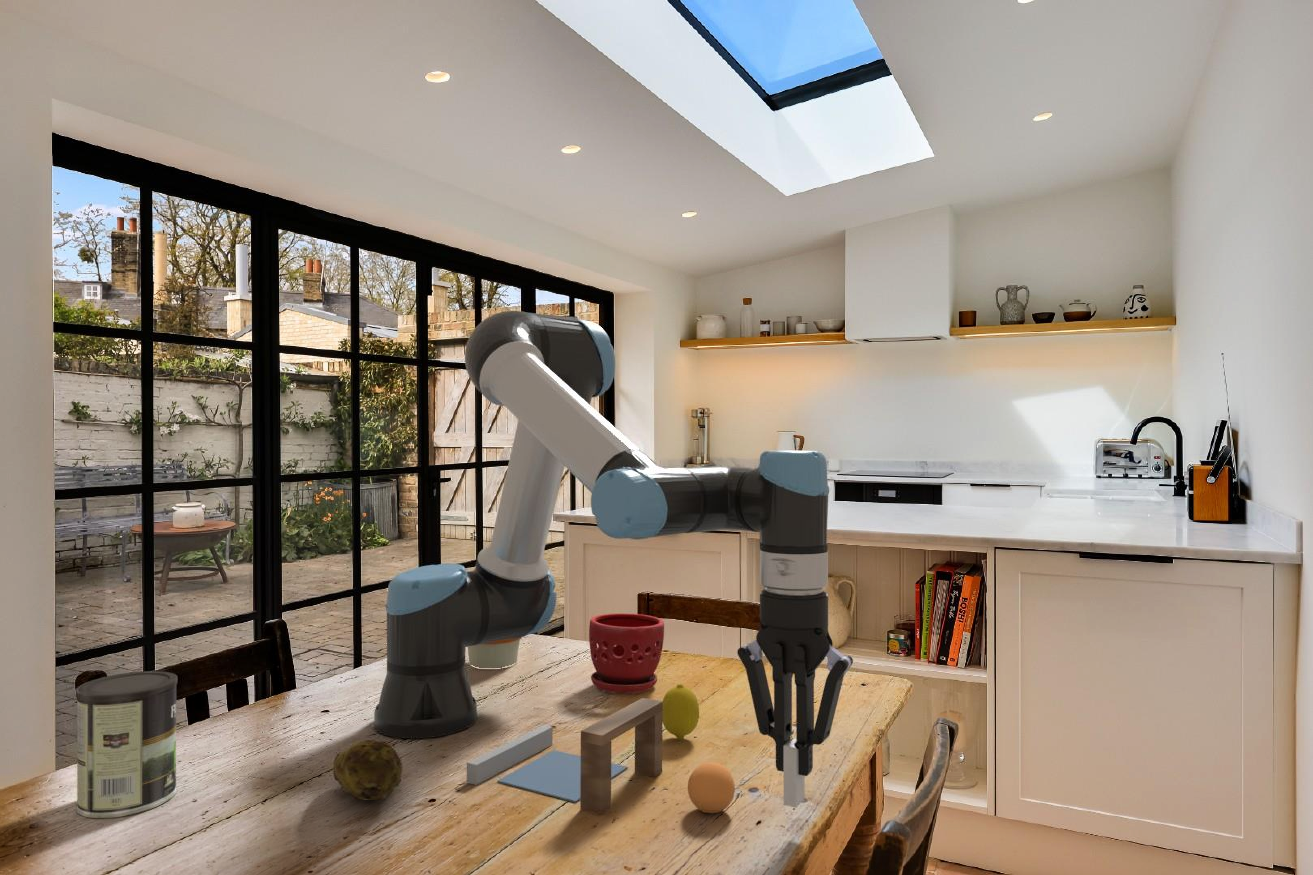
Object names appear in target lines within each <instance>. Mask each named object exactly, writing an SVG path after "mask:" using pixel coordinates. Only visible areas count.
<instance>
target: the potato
mask: <svg viewBox="0 0 1313 875" xmlns="http://www.w3.org/2000/svg"><path fill="white" fill-rule="evenodd" d="M402 762H403V761H402V759H401V757H400V755H399V753H398V752H397V750H396V749H395V747H394V746H392V745H391V744H390V743H388V742H387V741H385V740H383V741H381V740H376V739H375V740H373V739H366V740H360V741H356V742H355V743H354V744H352V745H351V746H349V747H347V748H346V749H345V750H343V751H341V752H340V753H338V754H337V755H335V758H334V760H333V763H332V771H333V772H332V774H333V775H332V776H333V778H334V780H335V781H336V782H337V783H338V784H339V786H341V788H342V789H343V790H344V791H345V792H346V793H348V794H350V795H352V796H353V797H354V798H357V799H359V800H361V801H375V800H377V801H380V800H383V799H384V798H385V797H387V796H389V795H390V794H391V793H392V792H393V791H394V790H395V788H397V787H398V786H399V785H400V783H401V782H402V777H403V769H404V768H403V766H404V765H403V763H402Z"/></svg>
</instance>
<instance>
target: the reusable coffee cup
mask: <svg viewBox="0 0 1313 875" xmlns="http://www.w3.org/2000/svg"><path fill="white" fill-rule="evenodd" d="M522 638H523V637H521V638H518V639H505V640H500V641H495V642H489V643H484V644H478V645H473V646H468V647H467V654H468V655H467V656H468V661H469V662H468V663H469V665H470V664H471V665H473V666H475V667H479V668H502V667H505V666H509V665H512V664H514V663H516V662H517V663H518V656H519V650H520V649H519V648H520V647H519V646H520V640H521V639H522ZM517 663H516V664H517Z"/></svg>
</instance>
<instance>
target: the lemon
mask: <svg viewBox="0 0 1313 875" xmlns="http://www.w3.org/2000/svg"><path fill="white" fill-rule="evenodd" d="M662 701H663V720H662V725H663V726H664V728H665V729H666V731H668V732H669V733H670V734H671V735H673V736H675V737H676V739H677V740H683V739H684V737H686V736H687V735H689V734H691V733H692V732H693V731H694V730H695V729H696V727H697V725H698V723H699V718H700V707H699V702H698V698H697V695H696V693H694V691H693V690H692V689H691V688H689V687H687V686H684V684H683V683H678V684H677V685H675V686H673V687H671V688H670V689H668V690H667V691H666V692H665V694H664V696H663V698H662Z"/></svg>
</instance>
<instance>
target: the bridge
mask: <svg viewBox="0 0 1313 875" xmlns="http://www.w3.org/2000/svg"><path fill="white" fill-rule="evenodd" d="M662 720H663V700H657V699H651V698H646V697H642V698H640V699H638V700H636V701H634V702H633V703H630V704H628V705H627V706H624V707H623V708H620V709H619V710H617V711H615V712H614V713H612V714H610V715H608V716H606V717H604V718H603V719H600V720H599V721H597V722H595V723H593V724H591V725H590V726H587V727H586V728H585V727H584V728H583V729H582V730H580V756H581V780H580V800H579V801H580V803H579V804H580V805H579V806H580V807H579V808H580V810H582V811H584V812H589V813H593V814H596V815H599V816H603V815H605V814H606V813H607V812H608V811H610V810H612V779H611V763H612V741H613V740H615V739H617V738H618V737H620V736H622V735H623V734H625V733H627V732H629V731H631V730H632V729H634V773H635V774H640V775H644V776H647V777H648V776H649V777H652V778H656V777H657V776H658V775H660V774H661V773H662V772H663V722H662Z"/></svg>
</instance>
